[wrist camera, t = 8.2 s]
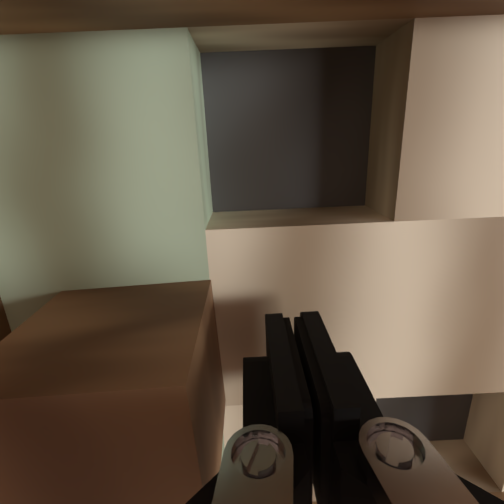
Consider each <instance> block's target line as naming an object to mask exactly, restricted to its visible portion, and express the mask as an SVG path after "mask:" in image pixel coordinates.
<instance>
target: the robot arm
mask: <svg viewBox="0 0 504 504" xmlns="http://www.w3.org/2000/svg"><path fill="white" fill-rule="evenodd" d="M265 331H266V356H261V357H243V428H241V429H240V430H238V431H237V432H235V433H234V434H233V435H232V436H231V437H230V439H229V440H228V441H227V444H226V446H225V449H224V452H223V456H222V461H221V465H220V469H219V472H218V473H217V474H216V475H215V476H214V477H213V478H212V479H211V480H210V481H209V482H208V483H207V484H205V485H204V486H203V487H202V488H201V489H200V490H199V491H198V492H197V493H196V494H195V495H194V496H193V497H192V498H191V499H190V500H189V501H187V502H186V503H185V504H312V494H313V487H314V492H315V497H316V502H317V504H504V501H503V500H501V499H500V498H498V497H496V496H494V495H492V494H491V493H489V492H487V491H485V490H484V489H482V488H480V487H478V486H476V485H475V484H473V483H471V482H469V481H467V480H466V479H464V478H462V477H460V476H458V475H457V474H455V473H454V472H453V470H452V469H451V468H450V467H449V465H448V464H447V463H446V462H445V460H444V459H443V458H442V457H441V455H440V454H439V453H438V452H437V450H436V449H435V448H434V447H433V445H432V444H431V443H430V442H429V440H428V439H427V438H426V437H425V436H424V435H423V434H422V433H421V432H420V431H419V430H418V429H416V428H415V427H413V426H412V425H410V424H409V423H407V422H404V421H402V420H399V419H396V418H390V417H383V415H382V413H381V411H380V409H379V407H378V405H377V403H376V401H375V399H374V397H373V395H372V393H371V391H370V389H369V387H368V385H367V383H366V381H365V379H364V377H363V375H362V373H361V371H360V369H359V367H358V365H357V364H356V362H355V360H354V358H353V356H352V354H351V353H350V352H336V350H335V347H334V345H333V343H332V341H331V338H330V336H329V334H328V332H327V329H326V327H325V325H324V323H323V320H322V318H321V316H320V313H319V312H318V311H309V312H300V317H294V333H293V329H292V325H291V322H290V318H289V317H284V318H283V314H282V313H273V314H265Z"/></svg>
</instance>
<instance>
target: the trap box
mask: <svg viewBox="0 0 504 504" xmlns="http://www.w3.org/2000/svg"><path fill="white" fill-rule="evenodd" d="M200 280H211V284H212V292H213V300H214V308H215V317H216V325H217V333H218V341H219V349H220V357H221V365H222V374H223V382H224V390H225V398H226V402H225V416H224V430H223V443H222V456H223V452H224V449H225V446H226V444H227V441H228V440H229V439H230V437H231V436H232V435H233V434H234V433H235V432H237V431H238V430H240V429H241V428H243V357H261V356H266V331H265V314H273V313H282V314H283V318H284V317H289V318H290V322H291V325H292V329H293V333H294V317H300V312H309V311H318V312H319V313H320V316H321V318H322V320H323V323H324V325H325V327H326V329H327V332H328V334H329V336H330V338H331V341H332V343H333V345H334V347H335V350H336V352H350V353H351V354H352V356H353V358H354V360H355V362H356V364H357V365H358V367H359V369H360V371H361V373H362V375H363V377H364V379H365V381H366V383H367V385H368V387H369V389H370V391H371V393H372V395H373V397H374V399H375V401H376V403H377V405H378V407H379V409H380V411H381V413H382V415H383V417H390V418H396V419H399V420H402V421H404V422H407V423H409V424H410V425H412V426H413V427H415V428H416V429H418V430H419V431H420V432H421V433H422V434H423V435H424V436H425V437H426V438H427V439H428V440H429V442H430V443H431V444H432V445H433V447H434V448H435V449H436V450H437V452H438V453H439V454H440V455H441V457H442V458H443V459H444V460H445V462H446V463H447V464H448V465H449V467H450V468H451V469H452V470H453V472H454V473H455V474H457V475H458V476H460V477H462V478H464V479H466V480H467V481H469V482H471V483H473V484H475V485H476V486H478V487H480V488H482V489H484V490H485V491H487V492H489V493H491V494H492V495H494V496H496V497H498V498H500V499H501V500H503V501H504V0H0V341H1V340H3V339H4V338H5V337H6V336H8V335H9V334H10V333H11V332H12V331H14V330H15V329H16V328H17V327H18V326H20V325H21V324H22V323H23V322H24V321H26V320H27V319H28V318H29V317H30V316H32V315H33V314H34V313H35V312H36V311H38V310H39V309H40V308H41V307H43V306H44V305H45V304H46V303H47V302H49V301H50V300H51V299H52V298H53V297H55V296H56V295H57V294H58V293H59V292H61V291H67V290H80V289H94V288H107V287H120V286H133V285H147V284H160V283H173V282H187V281H200ZM221 461H222V457H221ZM312 504H317V502H316V497H315V492H314V487H313V494H312Z"/></svg>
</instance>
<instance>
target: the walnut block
mask: <svg viewBox="0 0 504 504" xmlns="http://www.w3.org/2000/svg"><path fill="white" fill-rule="evenodd" d="M225 402H226V398H225V390H224V382H223V374H222V365H221V357H220V349H219V341H218V333H217V325H216V317H215V308H214V300H213V292H212V284H211V280H200V281H187V282H173V283H160V284H147V285H133V286H120V287H107V288H94V289H80V290H67V291H61V292H59V293H58V294H57V295H56V296H55V297H53V298H52V299H51V300H50V301H49V302H47V303H46V304H45V305H44V306H43V307H41V308H40V309H39V310H38V311H36V312H35V313H34V314H33V315H32V316H30V317H29V318H28V319H27V320H26V321H24V322H23V323H22V324H21V325H20V326H18V327H17V328H16V329H15V330H14V331H12V332H11V333H10V334H9V335H8V336H6V337H5V338H4V339H3V340H1V341H0V504H185V503H186V502H187V501H189V500H190V499H191V498H192V497H193V496H194V495H195V494H196V493H197V492H198V491H199V490H200V489H201V488H202V487H203V486H204V485H205V484H207V483H208V482H209V481H210V480H211V479H212V478H213V477H214V476H215V475H216V474H217V473H218V472H219V469H220V465H221V457H222V443H223V430H224V416H225Z"/></svg>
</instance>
